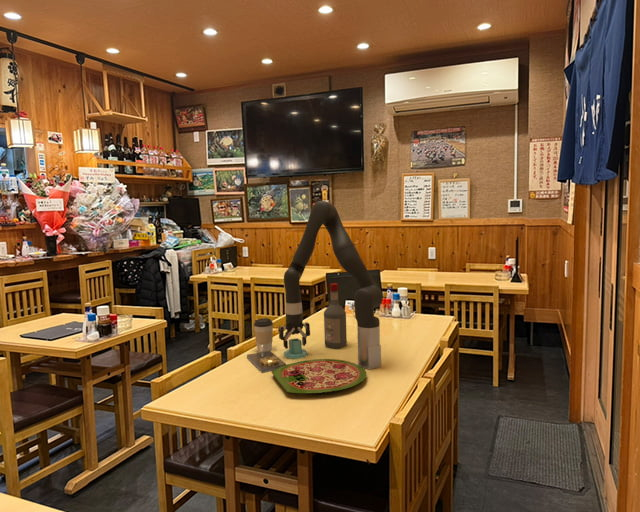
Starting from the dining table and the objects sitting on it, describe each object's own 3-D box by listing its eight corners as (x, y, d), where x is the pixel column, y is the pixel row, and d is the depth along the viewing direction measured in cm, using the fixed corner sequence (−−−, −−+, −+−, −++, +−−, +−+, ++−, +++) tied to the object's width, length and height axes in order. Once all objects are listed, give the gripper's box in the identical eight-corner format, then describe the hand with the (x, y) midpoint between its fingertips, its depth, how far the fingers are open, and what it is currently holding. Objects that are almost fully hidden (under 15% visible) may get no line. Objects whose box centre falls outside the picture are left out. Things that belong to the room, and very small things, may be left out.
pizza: (267, 372, 195) (266, 366, 195) (344, 359, 207) (344, 354, 207) (292, 405, 163) (292, 398, 162) (382, 388, 175) (382, 381, 175)
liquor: (338, 349, 220) (336, 286, 217) (322, 346, 226) (320, 284, 222) (349, 344, 227) (347, 283, 224) (333, 341, 233) (331, 281, 229)
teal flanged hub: (310, 356, 212) (309, 341, 211) (289, 360, 208) (288, 344, 207) (301, 350, 221) (300, 335, 220) (281, 353, 217) (280, 339, 216)
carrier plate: (286, 368, 199) (286, 353, 198) (261, 372, 194) (260, 357, 193) (270, 353, 217) (269, 340, 217) (247, 357, 213) (246, 343, 212)
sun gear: (282, 364, 199) (282, 360, 199) (263, 367, 195) (263, 364, 195) (275, 358, 207) (275, 355, 206) (257, 361, 203) (257, 358, 203)
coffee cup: (251, 351, 221) (249, 320, 219) (262, 346, 229) (260, 316, 227) (267, 354, 217) (265, 322, 215) (278, 348, 225) (276, 317, 223)
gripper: (281, 315, 206) (283, 351, 208) (311, 311, 212) (312, 346, 214) (276, 312, 213) (277, 347, 215) (305, 308, 219) (306, 342, 221)
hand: (295, 346), depth 214 cm, fingers open, 8 cm apart
